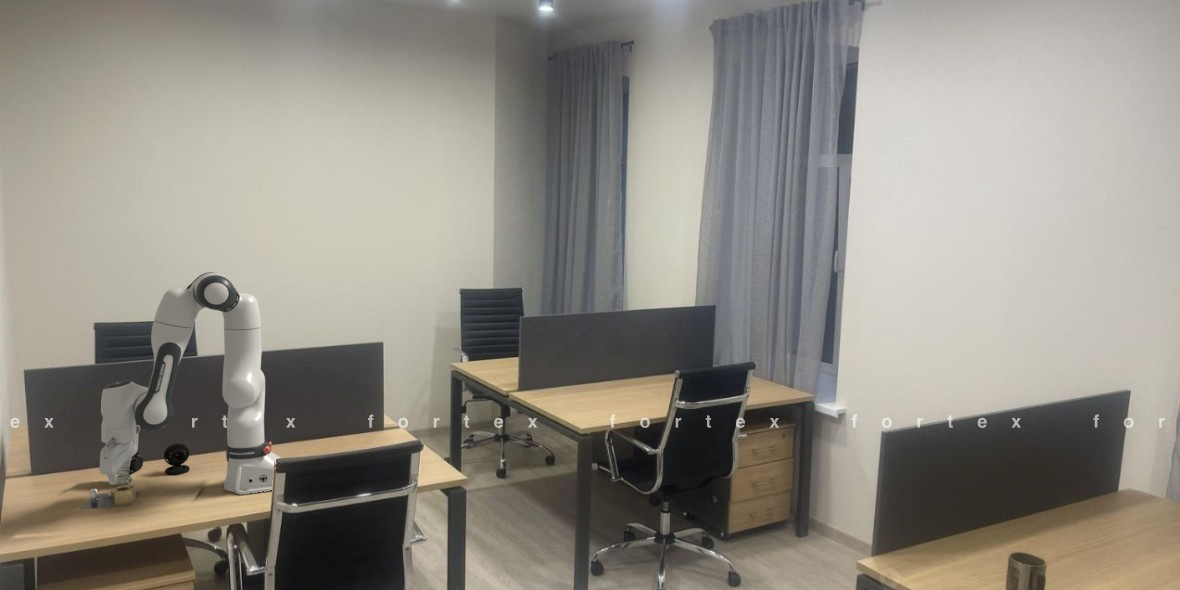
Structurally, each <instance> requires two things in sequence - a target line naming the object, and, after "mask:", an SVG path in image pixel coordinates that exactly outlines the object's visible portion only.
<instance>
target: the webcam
mask: <svg viewBox="0 0 1180 590" xmlns="http://www.w3.org/2000/svg"><path fill="white" fill-rule="evenodd" d="M189 456H190V449H189V447H188V445H186V444H184V443H173V444H170V445H169V446H167V448H165V451H164V452H163V459H164V461H165V462H166V463H167V465H169V466H168V467H167V468H165V470H164V473H165V474H166V475H168V476H179V475H184V474H186V473H188V472H189V471H190V466H189V465H187V464H184V463H185V462H187V461H188V459H189Z"/></svg>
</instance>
